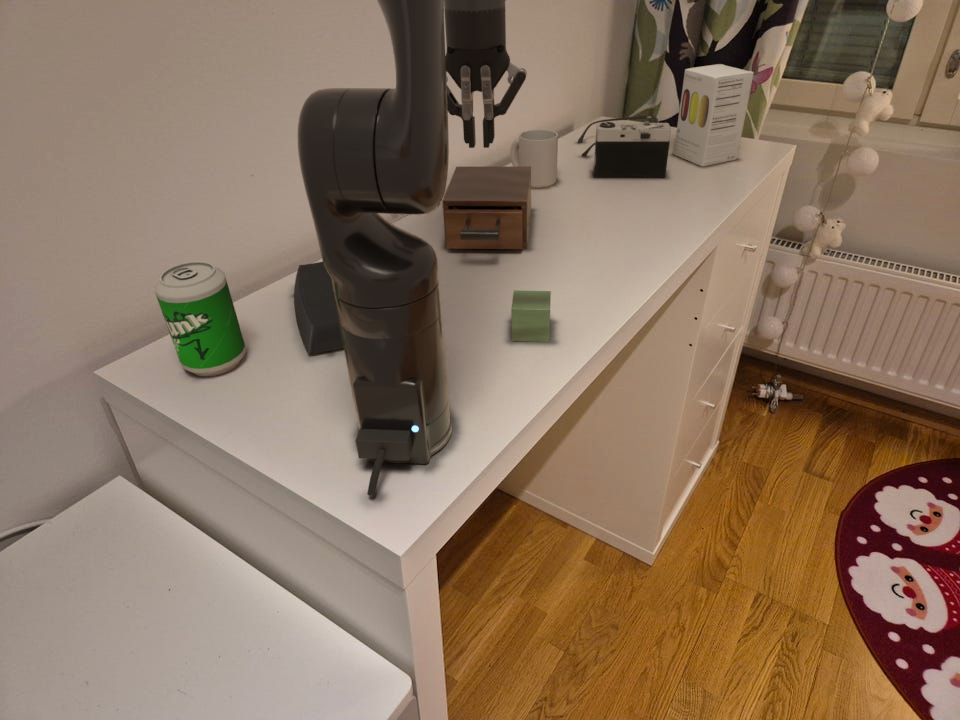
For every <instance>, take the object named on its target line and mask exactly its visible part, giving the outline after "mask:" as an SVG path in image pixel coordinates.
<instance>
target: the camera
mask: <svg viewBox="0 0 960 720" xmlns="http://www.w3.org/2000/svg"><path fill="white" fill-rule="evenodd" d="M671 132H672V128H671V126H670V123H668V122H658V123H650V120H645V121H644V122H613V121H606V122H599V123H596V128H595V142H594V143H595V145H594V159H593V160H594V161H593V178H595V179H598V178H599V179H601V178H602V179H625V178H626V179H665V178H666V175H667V167H668V166H667V165H668V159H669V153H670V143H671V141H670V137H671Z"/></svg>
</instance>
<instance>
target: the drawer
mask: <svg viewBox="0 0 960 720" xmlns="http://www.w3.org/2000/svg"><path fill="white" fill-rule="evenodd" d="M445 225H446V240H447V248H446V249H461V250H462V249H463V250H464V249H471V250H472V249H473V250H474V249H475V250H523V249H522V248H523V210H521V206H453V207H452V209H446V210H445Z"/></svg>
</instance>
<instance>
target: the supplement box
mask: <svg viewBox="0 0 960 720" xmlns="http://www.w3.org/2000/svg"><path fill="white" fill-rule="evenodd" d="M754 74H755V72H754V71H751V70H745V69H741V68H738V67H735V66H734V67H733V66H729V65H725V64H722V63H717V64H716V63H715V64H711V65H704V66H703V65H702V66H696V67H690V68H685V69H684V75H683V82H682V88H681V96H680V105H679V110H678V111H679V112H678V116H677V117H678V119H677V125H676V130H675V132H676V133H675V139H674V148H673V154H672V155H674V156H676V157H679V158H680V159H683V160H686V161H688V162H690V163H692V164H695V165H697V166H699V167H703V168H704V167H707V166H708V167H709V166H711V165H712V166H713V165H717V164H723V163H727V162H732V161H736V160H737V159H738V157H739V151H740V145H741V140H742V135H743V129H744V126H745V120H746V115H747V110H748V105H749V99H750V94H751V89H752V84H753V79H754Z"/></svg>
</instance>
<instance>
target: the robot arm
mask: <svg viewBox="0 0 960 720" xmlns="http://www.w3.org/2000/svg"><path fill="white" fill-rule="evenodd" d="M376 1H377V4H378V6H379V8H380V11H381V13H382V16H383V18H384V20H385V23H386V27H387V29H388V32H389V38H390V41H391V46H392V51H393V53H392V54H393V59H394V67H395V68H394V70H395V88H391V87H390V88H387V87H385V88H382V87H381V88H380V87H379V88H378V87H377V88H375V87H370V88H369V87H367V88H366V87H365V88H364V87H351V88H350V87H329V88H322V89H318V90H316V91H315V90H314V92H311V94H310V95H308V96H307V98H306V99H305V101H304V102H303V104H302V107H301V110H300V112H299V117H298V123H297V153H298V159H299V167H300V173H301V176H302V181H303V186H304V190H305V194H306V198H307V202H308V206H309V209H310V213H311V218H312V221H313V226H314V230H315V233H316V238H317V241H318V242H317V243H318V246H319V251H320V255H321V259H322V262H323V263H324V266H325V268H326V270H327V272H328V274H329V276H330V277H331V281H332V285H333V290H334V296H335V301H336V307H337V312H338V318H339V324H340V329H341V335H342V340H343V346H344V348H343V350H344V355H345V356H344V357H345V363H346V367H347V373H348V378H349V384H350V389H351V394H352V400H353V404H354V411H355V416H356V421H357V426H358V428H357V429H358V430H357V431H358V433H357V435H356V438H355V445H356V450H357V454H358V455H357V456H358V459H365V461H366V462H373V463H374V464H373V466H372V470H371V475H370V477H369V483H368V487H367V496H369V497H375V496H376V492H377V488H378V482H379V477H380V475H381V471H382V468H383V464H384V463H393V464H394V463H395V464H419V465H427V464H429V462H430V459H431V457H432V456H433V455H435V454H437V453H438V452H439V451H441V450H442V449H443V448H444V447H445V446H446V444H447V443H448V442H449V440H450V438H451V435H452V431H453V423H452V417H451V414H450V399H449V390H448V376H447V363H446V353H445V340H444V339H445V338H444V328H443V325H444V324H443V313H442V300H441V287H440V275H439V274H440V273H439V263H438V257H437V254H436V251H435V250H434V248H433V246H432V245H431V244H430V243H429V242H428V241H427V240H425V239H424V238H422V237H420V236H418V235H415V234H413V233H412V232H409V231H406V230H404V229H402V228H400V227H398V226H396V225H394V224H393V223H391V222H389V221H388V220H387V219H386V218H384V217H383V216H382V215H381V214H390V215H391V214H392V215H413V216H414V215H415V216H417V215H420V216H421V215H427V214H428V215H429V214H431V213H433V212H435V211H436V210H437V209H438V208H439V206H440V205H441V204H442V201H443V198H444V196H445V193H446V186H447V182H448V171H449V153H450V150H449V149H450V147H449V145H450V143H449V115H451V116H457V117H459V118H460V119H461V120H462V129H463V130H462V131H463V132H462V133H463V142H464V143H465V144H468V148H469V149H475V147H476V145H477V144H476V143H477V141H476V119H475V116H474V93H475V92H479V93H481V94H482V96H481V97H482V104H483V119H482V141H483V143H482V145H483V149H489V148H490V145H491V144H493V143H494V140H495V135H496V132H495V119H496V117H499V116H504V115H506V114H507V112H508V110H509V109H510V107H511V105H512V103H513V102H514V100H515V98H516V96H517V95H518V93H519V91H520V90H521V88H522V86H523V85H524V83H525V81H526V79H527V74H528V73H527V70H526V69H525V68H522V67H521V68H520V67H518V66H517V65H515V64H514V63H512V62H511V57H510V55H509V53H508V50H507V34H506V33H507V31H506V30H507V29H506V21H507V20H506V1H507V0H376ZM506 72H507V74H508V76H507V82H508V84H509V85H508V88H507V89H506V91H505V93H504V95H503V96H502V98H501V100H500V102H498V103H495V88H496V87H497V86H498V84H499V83H500V81H501V79H502V78H503V76H504V75H505V73H506ZM448 75H449V76H450V78H451V79H452V80H453V82H454V83H455V85H456V86H457V87H458V88H459V89H460V95H461V96H460V97H461V98H460V99H461V103H459V101H458V100H457V98H456V96H455V95H454V93H453V92H452V90H451V89H450V87H449V86H448V81H449V78H448Z"/></svg>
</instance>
